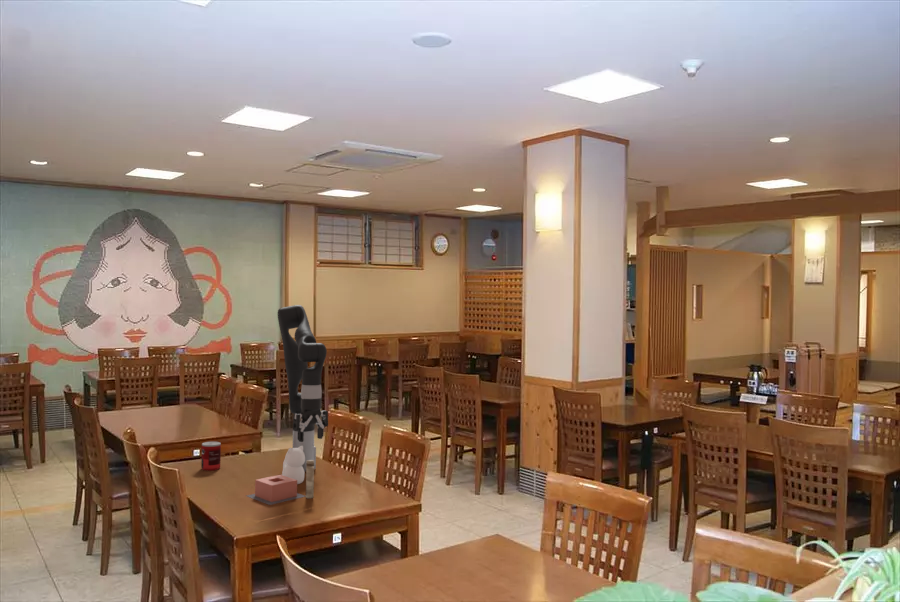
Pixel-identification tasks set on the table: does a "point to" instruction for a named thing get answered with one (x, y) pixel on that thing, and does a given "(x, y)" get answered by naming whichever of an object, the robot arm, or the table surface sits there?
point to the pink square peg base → (275, 488)
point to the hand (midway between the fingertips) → (310, 440)
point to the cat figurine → (294, 464)
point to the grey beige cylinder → (309, 479)
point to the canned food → (211, 456)
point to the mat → (274, 501)
